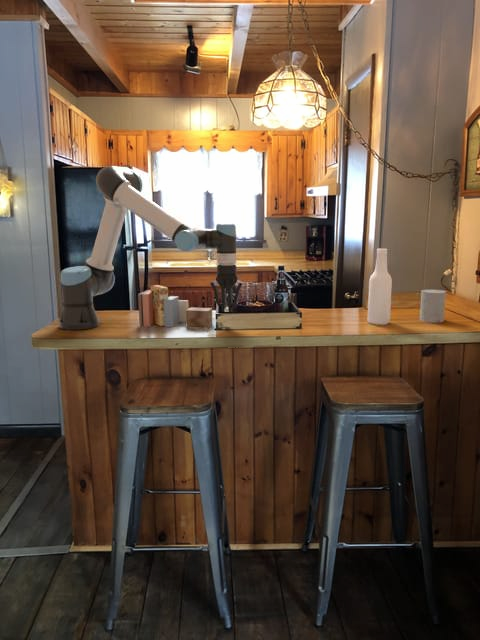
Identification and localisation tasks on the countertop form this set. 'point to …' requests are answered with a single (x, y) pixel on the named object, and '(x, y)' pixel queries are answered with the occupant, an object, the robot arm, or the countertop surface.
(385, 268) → the alcohol
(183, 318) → the book rack
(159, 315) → the candy box
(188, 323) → the walnut block
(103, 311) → the countertop surface
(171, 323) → the shelved books
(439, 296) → the grey cylinder
